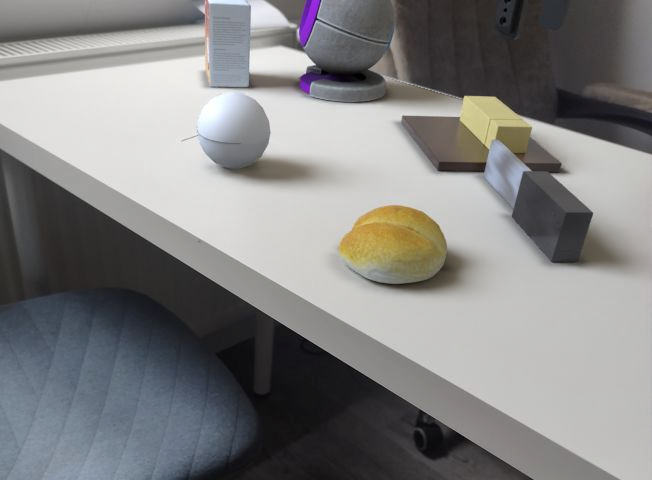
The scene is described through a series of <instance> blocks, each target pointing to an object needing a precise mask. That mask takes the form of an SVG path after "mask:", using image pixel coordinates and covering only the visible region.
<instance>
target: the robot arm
mask: <svg viewBox="0 0 652 480" xmlns="http://www.w3.org/2000/svg"><path fill="white" fill-rule="evenodd" d="M571 1H572V0H543V1H542V2H543V3H542V7H541V11H540V15H539V20H538V25H539V27H540V28H542V29H547V30H552V31H559V30H562V29H563V28H564V27H565V23H566V20H567V16H568V12H569V8H570V4H571ZM528 3H529V0H498V4H497V10H496V15H495V18H494V24H493V27H492V28H493V29H492V34H493V36H494V37H495V38H498V39H502V40H506V41H514V40H518V39H519V38H520V36H521V34H522V33H521V32H522V29H523V24H524V20H525V15H526V12H527V8H528Z"/></svg>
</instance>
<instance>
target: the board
mask: <svg viewBox="0 0 652 480" xmlns="http://www.w3.org/2000/svg"><path fill="white" fill-rule="evenodd" d="M400 121H401V122H400V124H401V125H402V126H403V128H405V130H406V132H407V134H409V135H410V137H411V138H412V139H413V140H414V142H415V143H416V145H417V146H418V147H419V148H420V150H421V151H422V152H423V153H424V155H425V156H426V157H427V159H428V160H429V162H430V163H431V164H432V165H433V166H434V168H435V169H436V170H437V171H439V172H440V171H441V172H442V171H446V172H449V171H450V172H485V168H486V163H487V159H488V154H489V149H488V148H487V147H486V146H485V145H484V144H483V143H482V142H481V141H480V140H479V139H478V138H477V137H476V136H475V135H474V134H473V133H472V132H471V131H470V130H469V129H468V128H467V127H466V126H465V125H464V124H463V123H462V122H461V121H460V116H445V115H443V116H440V115H439V116H438V115H437V116H436V115H402V116H401V119H400ZM513 154H514V155H515V156H516V157H518V158H519V159H520V160H521V161H522V162H523V163H524V164H525V165H526V166H527V167H528V168H529V169H530V170H531V171H547V172H549V173H560V172H561V170H562V169H561V168H562V165H563V163H562V162H561V161H560V160H558V159H557V158H556V157H555V156H554V155H552V154H551V153H550V152H549V151H548V150H547V149H545V148H544V147H543V146H541V144H540V143H538V142H537V141H536V140H535V139H533V137H531V136H530V138H529V142H528V146H527V150H526V153H513Z"/></svg>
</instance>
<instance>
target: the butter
mask: <svg viewBox="0 0 652 480" xmlns="http://www.w3.org/2000/svg"><path fill="white" fill-rule="evenodd" d="M459 117H460V121H461V122H462V123H463V124H464V125H465V126H466V127H467V128H468V129H469V130H470V131H471V132H472V133H473V134H474V135H475V136H476V137H477V138H478V139H479V140H480V141H481V142H482V143H483V144H484V145H485V143H486V138H487V134H488V129H489V125H490V120H491V119H495V120H524V119H523V117H522V116H520V115H518V113H516V112H515V111H513V110H512V109H511V108H510V107H509V106H507V105H506V104H505V103H504V102H502V101H501V100H500V99H498V98H497V97H496V96H482V95H464V96H463V100H462V106H461V110H460V116H459Z"/></svg>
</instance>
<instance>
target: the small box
mask: <svg viewBox="0 0 652 480" xmlns="http://www.w3.org/2000/svg"><path fill="white" fill-rule="evenodd" d="M251 18H252V6H251V4H250V3H249V2H248V0H204V52H205V53H204V64H205V66H204V67H205V68H204V69H205V73H206V76H207V82H208V85H209V87H210V88H211V87H212V88H216V87H217V88H218V87H219V88H220V87H221V88H222V87H223V88H249V86H250V55H251V54H250V53H251V52H250V51H251V20H252V19H251Z"/></svg>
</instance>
